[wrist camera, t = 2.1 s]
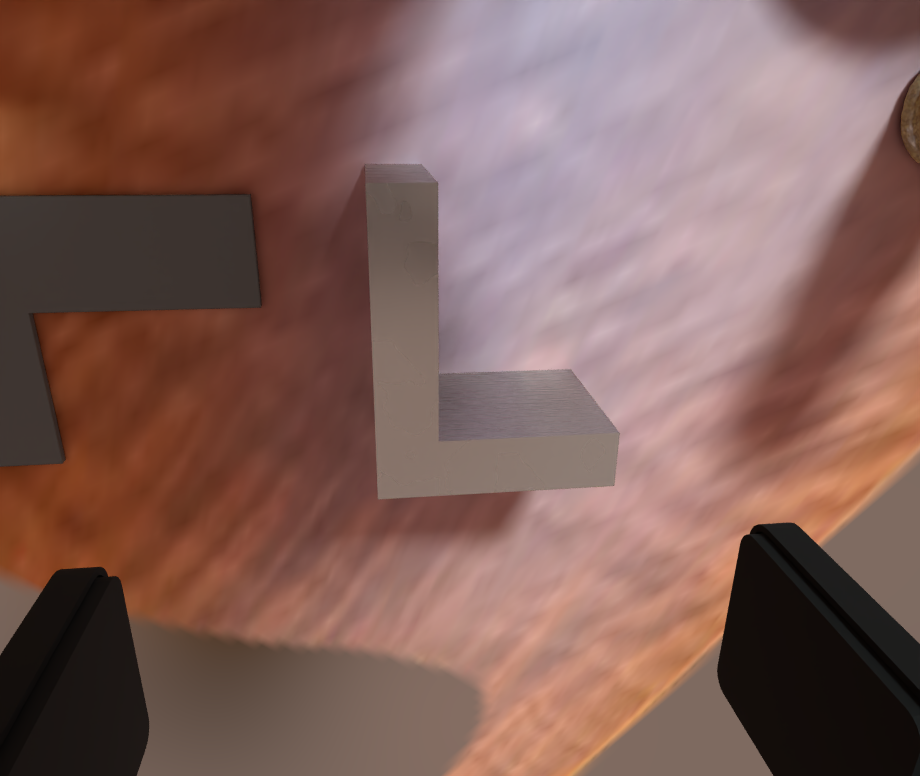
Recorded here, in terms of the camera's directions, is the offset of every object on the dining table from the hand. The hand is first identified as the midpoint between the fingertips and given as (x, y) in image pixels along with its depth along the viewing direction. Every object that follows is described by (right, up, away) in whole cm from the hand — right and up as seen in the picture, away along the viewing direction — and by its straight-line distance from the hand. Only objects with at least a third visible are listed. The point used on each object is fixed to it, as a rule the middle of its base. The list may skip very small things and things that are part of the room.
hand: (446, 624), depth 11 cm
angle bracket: (+1, +7, +17) cm, 18 cm away
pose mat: (-13, +6, +15) cm, 21 cm away
